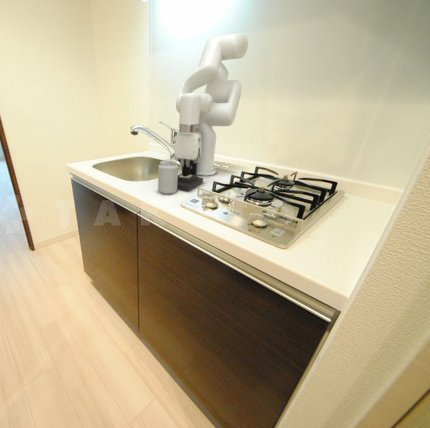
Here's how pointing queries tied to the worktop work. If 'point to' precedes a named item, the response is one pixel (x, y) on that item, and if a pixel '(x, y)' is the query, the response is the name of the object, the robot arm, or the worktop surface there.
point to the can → (167, 177)
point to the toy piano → (188, 182)
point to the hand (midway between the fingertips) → (185, 175)
